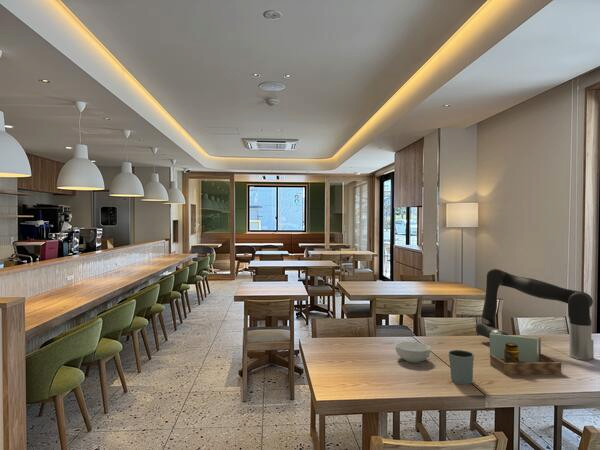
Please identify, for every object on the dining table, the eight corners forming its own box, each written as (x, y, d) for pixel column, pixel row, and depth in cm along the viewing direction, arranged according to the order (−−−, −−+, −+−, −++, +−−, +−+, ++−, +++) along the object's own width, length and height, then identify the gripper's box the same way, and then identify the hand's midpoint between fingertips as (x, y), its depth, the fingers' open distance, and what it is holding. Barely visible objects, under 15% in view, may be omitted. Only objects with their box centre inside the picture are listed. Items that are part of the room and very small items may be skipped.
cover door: (540, 363, 196) (540, 337, 196) (540, 364, 195) (540, 338, 195) (489, 357, 205) (489, 332, 205) (489, 357, 204) (489, 333, 204)
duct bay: (542, 364, 195) (542, 353, 195) (561, 373, 182) (561, 362, 182) (490, 365, 194) (490, 354, 194) (505, 374, 181) (505, 363, 181)
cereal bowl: (436, 359, 201) (436, 345, 201) (421, 368, 189) (421, 353, 189) (405, 352, 213) (405, 339, 213) (389, 360, 201) (389, 346, 201)
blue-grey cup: (477, 385, 168) (477, 357, 169) (453, 385, 169) (453, 356, 169) (468, 376, 179) (468, 349, 179) (445, 376, 179) (445, 349, 179)
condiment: (523, 371, 185) (523, 345, 185) (506, 372, 183) (506, 346, 183) (512, 366, 192) (512, 341, 192) (496, 367, 190) (496, 342, 191)
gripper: (487, 330, 218) (504, 340, 200) (512, 330, 218) (530, 340, 200) (487, 344, 218) (504, 355, 200) (511, 344, 218) (530, 355, 200)
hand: (517, 347), depth 200 cm, fingers closed
